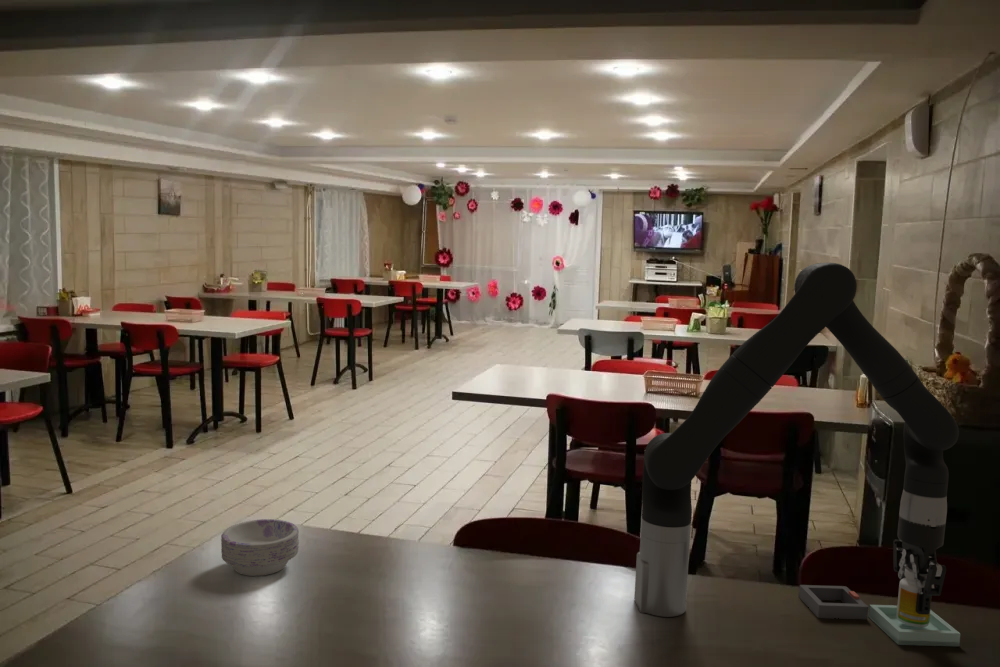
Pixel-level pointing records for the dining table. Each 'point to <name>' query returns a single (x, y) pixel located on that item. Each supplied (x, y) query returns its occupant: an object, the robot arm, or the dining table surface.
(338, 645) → the dining table surface
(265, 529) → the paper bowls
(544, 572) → the dining table surface
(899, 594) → the supplement bottle
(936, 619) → the tray
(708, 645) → the dining table surface
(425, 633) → the dining table surface
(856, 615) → the socket collar
